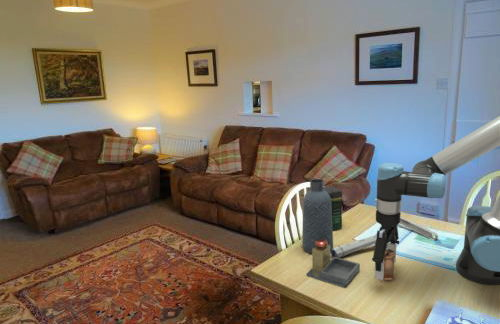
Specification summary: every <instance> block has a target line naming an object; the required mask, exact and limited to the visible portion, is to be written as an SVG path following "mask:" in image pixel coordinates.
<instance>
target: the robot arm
mask: <svg viewBox="0 0 500 324" xmlns="http://www.w3.org/2000/svg"><path fill="white" fill-rule="evenodd" d="M499 146H500V115H499V116H498V117H496V118H493V119H492V120H490V121H489V122H487V123H486V124H484V125H482V126H480V127H478V128H476V129H475V130H474V131H472V132H470V133H468V134H467V135H466V136H464V137H462V138H461V139H458V140H457V141H456V142H453V143H452V144H450V145H448V146H447V147H445V148H444V149H442V150H440V151H438V152H437V153H435V154H433V155H432V156H430V157H428V158H426V159H422V160H419V161H417V162H416V163H415V164H414V166H412V170H411V171H407V170H405V169H404V165H402V164H400V163H395V162H385V163H381V164H379V166H378V167H377V168H378V169H377V176H376V177H377V178H376V198H375V199H374V202H376V204H375V205H376V207H375V208H376V210H375V221H376V222H377V223H378V224H379V225H380V227H379V229H378V230H377V231H376V233H377V239H376V244H374V250H373V256H372V257H371V261H372V262H374V277H373V278H374V279H376V280H380V281H383V277H384V261H383V259H384V255H385V251H386V249H390V250H393V251H394V252H395V253H396V254H397V245H399V244H400V240H399V239H400V237H399V229H398V225H399V224H400V216H401V210H402V196H410V197H417V198H427V199H428V198H429V199H443V198H444V197H445V195H446V184H447V179H446V178H447V177H446V176H448V174H451V173H453V172H454V171H456V170H458V169H460V168H461V167H463V166H465V165H467V164H469V163H470V162H473V161H474V160H476V159H478V158H480V157H481V156H483V155H485V154H487V153H489V152H491V151H493V150H494V149H496V148H497V147H499ZM465 216H466V221H465V231H464V242H463V248H462V250H461V251H460V254H459V255H458V258H457V259H456V263H455V264H456V265H455V269H456V271H457V273H458V274H460V276H462V277H464V278H465V279H468V280H470V281H472V282H476V283H477V284H478V283H479V284H482V285H493V286H495V285H496V286H497V285H500V194H498V196H497V199H496V201H495V203H494V204H493V206H487V205H474V206H473V205H472V206H469V207H468V208H467V210H466V214H465ZM387 243H388V247H387ZM386 247H387V248H386ZM396 260H397V256H396V257H395V258H394V263H396V262H397V261H396Z"/></svg>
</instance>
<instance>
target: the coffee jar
mask: <svg viewBox="0 0 500 324" xmlns="http://www.w3.org/2000/svg"><path fill="white" fill-rule="evenodd" d="M324 190H325V191H326V192H327V193H328V194H329V196H330V198H331V204H332V228H333V231H338V230H340V229H342V227H343V217H342V216H343V214H342V201H343V191H342V190H340V189H339V188H337V187H335V186H332V185H328V186H327V185H326V186H324Z"/></svg>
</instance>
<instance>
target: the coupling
mask: <svg viewBox="0 0 500 324" xmlns="http://www.w3.org/2000/svg"><path fill="white" fill-rule="evenodd" d="M395 257H396V258H397V252H396V253H395V252H394V251H393V250H390V249H388V248H386V251H385V255H384V259H383V261H384V277H383V280H382V281H383V282H392V281H394V280H395V278H396V276H395V275H396V274H395V262H394V258H395Z"/></svg>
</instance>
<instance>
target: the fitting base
mask: <svg viewBox="0 0 500 324" xmlns="http://www.w3.org/2000/svg"><path fill="white" fill-rule="evenodd" d="M315 245H316V246H315V247H314V248H313V249H312V254H311V256H312V257H311V258H312V260H311V261H312V263H311V265H312V268H310V270H309V271H308V272H306V276H307V277H309V278H311V279H312V278H313V279H316V280H319V281H321V282H325V283H329V284H331V285H335V286H338V287H341V288H344V289H346V287H347V286H348V285H349V283H350V282H351V281H352V280H353V278H355V276H356V275H357V274H358V273H359V271H360V269H361V267H360V266H361V263H359V262H355V261H351V260H347V259H344V258H342V257H340V258H337V257H332V258H331V252H330V245H329V244H328V242H327V240H325V239H317V240H315Z"/></svg>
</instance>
